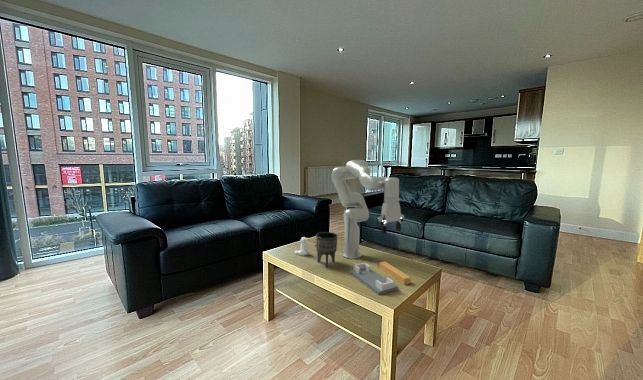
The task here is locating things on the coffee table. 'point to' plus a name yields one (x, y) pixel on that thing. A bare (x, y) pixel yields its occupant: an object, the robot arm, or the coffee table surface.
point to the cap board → (373, 279)
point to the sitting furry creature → (303, 247)
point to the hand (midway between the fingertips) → (391, 231)
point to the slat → (394, 272)
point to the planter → (326, 245)
